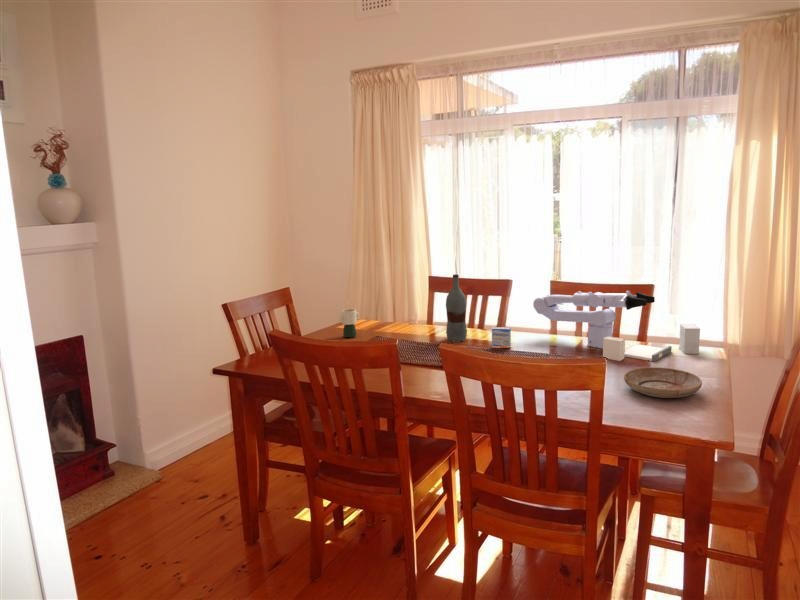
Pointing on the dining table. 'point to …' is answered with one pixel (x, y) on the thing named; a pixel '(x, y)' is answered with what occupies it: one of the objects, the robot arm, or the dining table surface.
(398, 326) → the dining table surface
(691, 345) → the small box
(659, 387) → the ceramic bowl
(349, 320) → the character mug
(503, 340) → the medicine box
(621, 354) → the carton
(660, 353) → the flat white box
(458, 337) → the bottle
